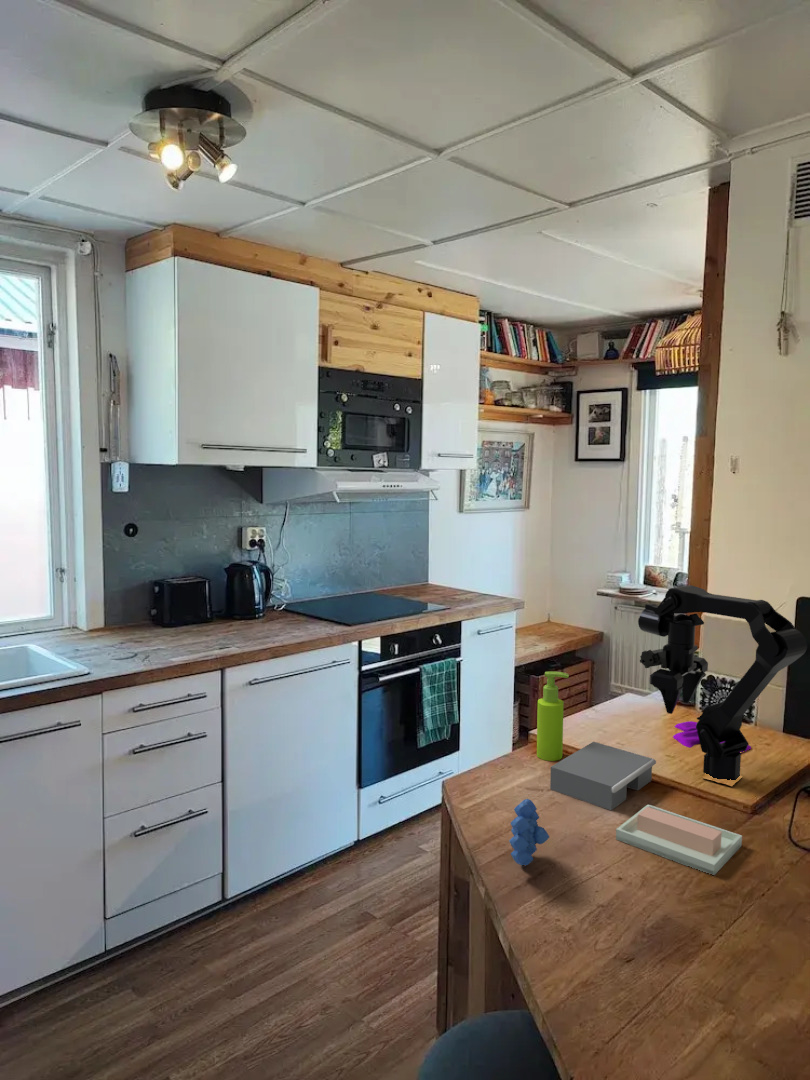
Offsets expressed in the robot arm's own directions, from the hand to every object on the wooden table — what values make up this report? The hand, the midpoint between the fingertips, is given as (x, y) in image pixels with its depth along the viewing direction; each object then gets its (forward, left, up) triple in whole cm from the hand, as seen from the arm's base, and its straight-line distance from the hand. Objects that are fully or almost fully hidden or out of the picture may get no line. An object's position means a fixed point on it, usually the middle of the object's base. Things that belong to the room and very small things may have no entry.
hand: (677, 707), depth 178 cm
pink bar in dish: (-16, +36, -11) cm, 41 cm away
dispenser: (+6, +24, -12) cm, 27 cm away
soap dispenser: (+22, +18, -12) cm, 31 cm away
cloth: (-1, -18, -13) cm, 23 cm away
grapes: (0, +60, -12) cm, 62 cm away
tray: (-16, +36, -12) cm, 41 cm away
